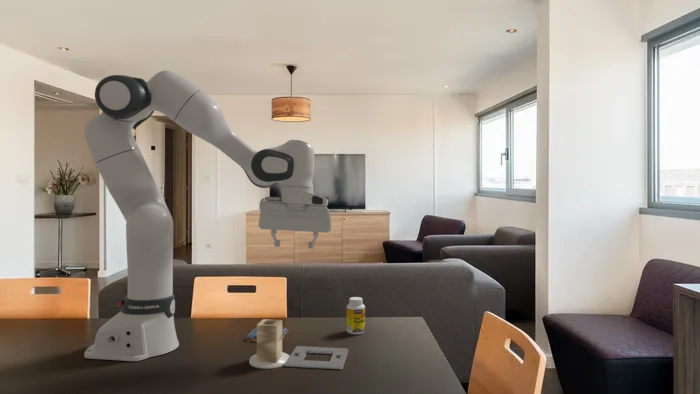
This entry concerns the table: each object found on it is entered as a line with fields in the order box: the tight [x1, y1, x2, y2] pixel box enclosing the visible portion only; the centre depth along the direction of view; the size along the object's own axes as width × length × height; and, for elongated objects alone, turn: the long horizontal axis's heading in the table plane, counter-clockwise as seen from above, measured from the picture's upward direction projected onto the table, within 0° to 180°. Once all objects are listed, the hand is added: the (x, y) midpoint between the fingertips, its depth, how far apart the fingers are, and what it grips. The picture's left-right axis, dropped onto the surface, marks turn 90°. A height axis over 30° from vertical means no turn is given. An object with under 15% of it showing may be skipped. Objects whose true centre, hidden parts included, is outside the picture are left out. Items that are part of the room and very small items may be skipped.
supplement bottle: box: [346, 296, 366, 335], centre depth 133 cm, size 6×6×10 cm
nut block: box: [256, 318, 283, 363], centre depth 110 cm, size 5×5×9 cm
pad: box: [248, 351, 290, 370], centre depth 110 cm, size 10×10×1 cm
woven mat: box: [246, 326, 290, 343], centre depth 129 cm, size 10×11×2 cm
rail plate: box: [284, 345, 349, 370], centre depth 112 cm, size 14×12×1 cm
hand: (293, 247), depth 124 cm, fingers open, 8 cm apart
